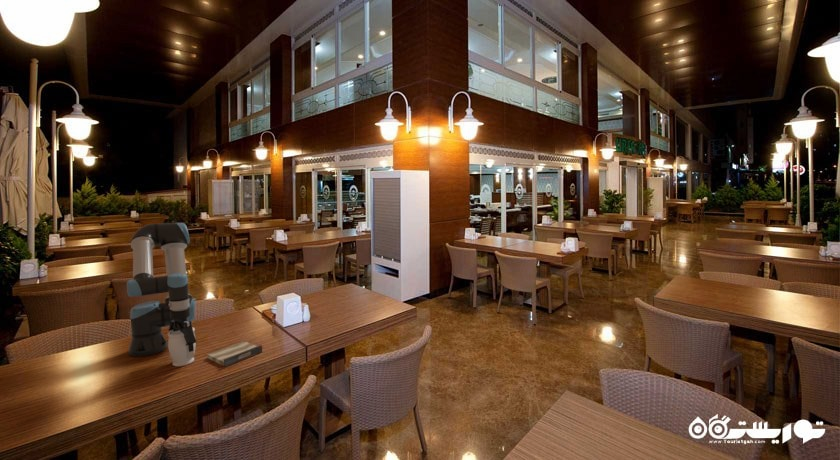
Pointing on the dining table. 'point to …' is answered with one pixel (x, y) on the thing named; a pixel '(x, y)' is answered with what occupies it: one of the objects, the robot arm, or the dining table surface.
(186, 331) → the robot arm
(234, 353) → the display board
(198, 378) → the dining table surface
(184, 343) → the jar
